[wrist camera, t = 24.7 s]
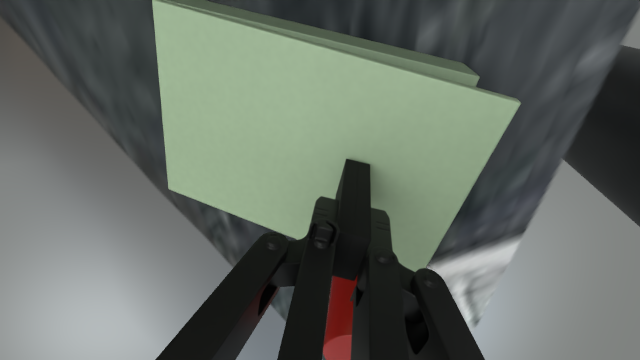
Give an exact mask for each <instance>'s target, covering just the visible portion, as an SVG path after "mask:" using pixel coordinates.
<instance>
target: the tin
mask: <svg viewBox="0 0 640 360" xmlns="http://www.w3.org/2000/svg"><path fill="white" fill-rule="evenodd" d="M356 284H357V276H356V279H355V281H352V280H348V279H344V278H340V277H336V276H332V282H331V290H330V298H329V306H328V314H327V321H326V329H325V337H324V345H323V354H324V357H325V358H326V360H351V342H352V321H353V301H354V298H353V301H350V299H351V296H352V293H353V291H354V289H355V286H356Z"/></svg>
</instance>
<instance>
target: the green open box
mask: <svg viewBox="0 0 640 360" xmlns="http://www.w3.org/2000/svg"><path fill="white" fill-rule="evenodd" d="M165 1H169V2H172V3H176V4H179V5H183V6H186V7H190V8H194V9H197V10H201V11H204V12H208V13H212V14H215V15H219V16H222V17H226V18H230V19H233V20H237V21H240V22H244V23H247V24H251V25H255V26H258V27H262V28H265V29H269V30H273V31H276V32H280V33H283V34H287V35H290V36H294V37H298V38H301V39H305V40H308V41H312V42H316V43H319V44H323V45H326V46H330V47H334V48H337V49H341V50H344V51H348V52H351V53H355V54H359V55H362V56H366V57H369V58H373V59H377V60H380V61H384V62H387V63H391V64H394V65H398V66H402V67H405V68H409V69H412V70H416V71H420V72H423V73H427V74H430V75H434V76H438V77H441V78H445V79H448V80H452V81H455V82H459V83H463V84H466V85H470V86H473V87H475V86H476V84H477V82H478V80H479V78H480V76H478V75H477V74H476V73H475V72H473V71H472V70H471V69H470V68H468V67H467V66H466V65H465V64H463V63H460V62H456V61H452V60H448V59H444V58H439V57H435V56H431V55H427V54H423V53H419V52H415V51H411V50H407V49H402V48H398V47H394V46H390V45H386V44H382V43H378V42H374V41H370V40H365V39H361V38H357V37H353V36H349V35H345V34H341V33H337V32H333V31H328V30H324V29H320V28H316V27H312V26H308V25H304V24H300V23H296V22H291V21H287V20H283V19H279V18H275V17H271V16H267V15H263V14H259V13H254V12H250V11H246V10H242V9H238V8H234V7H230V6H226V5H222V4H217V3H213V2H209V1H205V0H165Z"/></svg>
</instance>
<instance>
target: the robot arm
mask: <svg viewBox="0 0 640 360" xmlns="http://www.w3.org/2000/svg"><path fill="white" fill-rule="evenodd" d="M332 276H336V277H340V278H344V279H348V280H352V281H355V279H356V276H357V284H356V286H355V289H354V291H353V293H352V296H351V299H350V301H353V298H354V301H353V321H352V342H351V360H485V359H484V357H483V355H482V353H481V351H480V349H479V347H478V345H477V344H476V342H475V340H474V338H473V336H472V334H471V332H470V330H469V328H468V326H467V324H466V322H465V320H464V318H463V316H462V315H461V313H460V311H459V309H458V307H457V305H456V303H455V301H454V299H453V297H452V295H451V293H450V291H449V289H448V287H447V285H446V284H445V282H444V280H443V279H442V277H441V276H440V275H439V274H437V273H436V272H434V271H432V270H430V269H426V268H421V269H418V270H417V271H416V272H414V271H412V270H410V269H408V268H406V267H405V266H403V265H402V264H400V263H399V261H398V258H397V256H396V255H395V253H394V252H393V248H392V237H391V227H390V218H389V216H388V214H387V213H386V211H384V210H379V209H375V208H371V182H370V164H367V163H362V162H358V161H354V160H350V159H346V161H345V164H344V168H343V172H342V175H341V179H340V182H339V186H338V189H337V193H336V198H335V199H332V198H328V197H323V196H320V197H319V198H318V199H317V200H316V202H315V206H314V210H313V214H312V218H311V223H310V226H309V231H308V233H307V235H306V236H305V237H304V238H302V239H299V240H294V241H288V240H287V238H286V237H285V236H283V235H282V234H280V233H276V232H268V233H265V234H263V235H262V236H261V237H259V239H258V240H257V241H256V242H255V243H254V244H253V246H252V247H251V248H250V249H249V250H248V252H247V253H246V254H245V255H244V256H243V257H242V259H241V260H240V261H239V262H238V263H237V264H236V266H235V267H234V268H233V269H232V270H231V272H230V273H229V274H228V275H227V276H226V277H225V279H224V280H223V281H222V282H221V283H220V285H219V286H218V287H217V288H216V289H215V290H214V292H213V293H212V294H211V295H210V296H209V297H208V299H207V300H206V301H205V302H204V303H203V304H202V306H201V307H200V308H199V309H198V310H197V312H196V313H195V314H194V315H193V316H192V317H191V319H190V320H189V321H188V322H187V323H186V324H185V326H184V327H183V328H182V329H181V330H180V331H179V333H178V334H177V335H176V336H175V338H174V339H173V340H172V341H171V342H170V343H169V344H168V346H167V347H166V348H165V349H164V350H163V351H162V353H161V354H160V355H159V356H158V357H157V359H156V360H235V359H236V358H237V356H238V355H239V353H240V351H241V350H242V348H243V346H244V345H245V343H246V341H247V340H248V339H249V337H250V335H251V334H252V332H253V331H254V329H255V327H256V326H257V324H258V323H259V321H260V319H261V318H262V316H263V315H264V313H265V311H266V310H267V308H268V307H269V305H270V303H271V302H272V300H273V299H274V297H275V295H276V294H277V292H278V290H279V289H280V287H286V286H295V288H294V292H293V297H292V301H291V305H290V309H289V313H288V317H287V321H286V326H285V330H284V334H283V338H282V342H281V346H280V351H279V355H278V359H277V360H322V353H323V345H324V337H325V329H326V320H327V312H328V304H329V296H330V288H331V279H332Z"/></svg>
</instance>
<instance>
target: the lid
mask: <svg viewBox="0 0 640 360" xmlns="http://www.w3.org/2000/svg"><path fill="white" fill-rule="evenodd" d="M152 3H153V14H154V26H155V37H156V49H157V61H158V72H159V84H160V95H161V107H162V118H163V130H164V141H165V153H166V164H167V176H168V187H169V189H170V190H172V191H175V192H177V193H180V194H183V195H185V196H188V197H190V198H193V199H195V200H198V201H200V202H203V203H206V204H208V205H211V206H213V207H216V208H218V209H221V210H223V211H226V212H229V213H231V214H234V215H236V216H239V217H241V218H244V219H246V220H249V221H252V222H254V223H257V224H259V225H262V226H264V227H267V228H269V229H272V230H274V231H277V232H280V233H282V234H285V235H287V236H290V237H292V238H295V239H297V240H299V239H302V238H304V237H305V236H306V235H307V233H308V231H309V226H310V223H311V218H312V214H313V210H314V206H315V202H316V200H317V199H318V198H319V197H320V196H323V197H328V198H332V199H335V198H336V193H337V189H338V186H339V182H340V179H341V175H342V172H343V168H344V164H345V161H346V159H350V160H354V161H358V162H362V163H367V164H370V182H371V208H375V209H379V210H384V211H386V213H387V214H388V216H389V218H390V227H391V237H392V248H393V252H394V253H395V255H396V256H397V258H398V261H399V263H400V264H402V265H403V266H405V267H406V268H408V269H410V270H412V271H414V272H416V271H417V270H418V269H421V268H426V266H427V265H428V263H429V261H430V259H431V258H432V256H433V254H434V253H435V251H436V249H437V247H438V246H439V244H440V242H441V240H442V239H443V237H444V235H445V234H446V232H447V230H448V228H449V227H450V225H451V223H452V222H453V220H454V218H455V216H456V215H457V213H458V211H459V209H460V208H461V206H462V204H463V203H464V201H465V199H466V197H467V196H468V194H469V192H470V191H471V189H472V187H473V185H474V184H475V182H476V180H477V178H478V177H479V175H480V173H481V172H482V170H483V168H484V166H485V165H486V163H487V161H488V160H489V158H490V156H491V154H492V153H493V151H494V149H495V147H496V146H497V144H498V142H499V141H500V139H501V137H502V135H503V134H504V132H505V130H506V129H507V127H508V125H509V123H510V122H511V120H512V118H513V116H514V115H515V113H516V111H517V110H518V108H519V106H520V104H521V103H520V101H519V100H518V99H516V98H513V97H509V96H506V95H502V94H498V93H495V92H491V91H488V90H484V89H481V88H477V87H473V86H470V85H466V84H463V83H459V82H455V81H452V80H448V79H445V78H441V77H438V76H434V75H430V74H427V73H423V72H420V71H416V70H412V69H409V68H405V67H402V66H398V65H394V64H391V63H387V62H384V61H380V60H377V59H373V58H369V57H366V56H362V55H359V54H355V53H351V52H348V51H344V50H341V49H337V48H334V47H330V46H326V45H323V44H319V43H316V42H312V41H308V40H305V39H301V38H298V37H294V36H290V35H287V34H283V33H280V32H276V31H273V30H269V29H265V28H262V27H258V26H255V25H251V24H247V23H244V22H240V21H237V20H233V19H230V18H226V17H222V16H219V15H215V14H212V13H208V12H204V11H201V10H197V9H194V8H190V7H186V6H183V5H179V4H176V3H172V2H169V1H165V0H152Z"/></svg>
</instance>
